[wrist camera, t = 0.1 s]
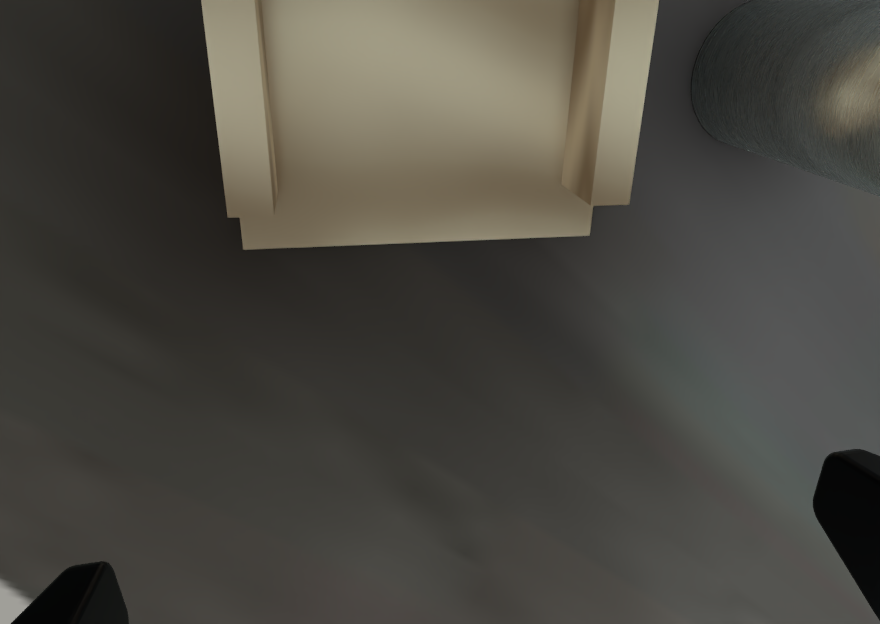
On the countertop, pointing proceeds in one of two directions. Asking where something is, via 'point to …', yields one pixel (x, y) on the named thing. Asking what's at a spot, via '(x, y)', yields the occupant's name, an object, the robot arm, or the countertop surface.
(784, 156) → the cell
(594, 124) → the cradle
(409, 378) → the countertop surface
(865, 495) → the robot arm
